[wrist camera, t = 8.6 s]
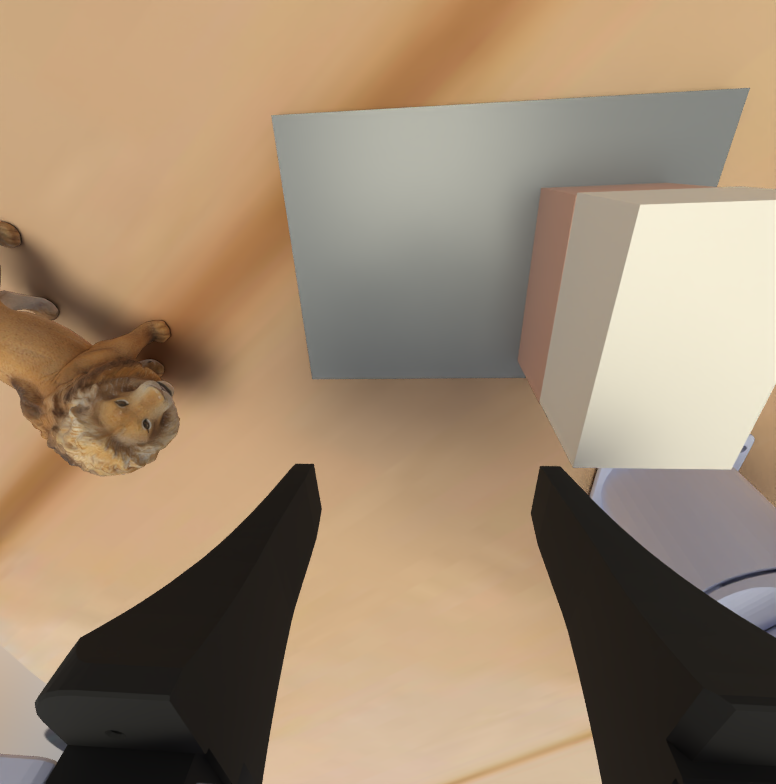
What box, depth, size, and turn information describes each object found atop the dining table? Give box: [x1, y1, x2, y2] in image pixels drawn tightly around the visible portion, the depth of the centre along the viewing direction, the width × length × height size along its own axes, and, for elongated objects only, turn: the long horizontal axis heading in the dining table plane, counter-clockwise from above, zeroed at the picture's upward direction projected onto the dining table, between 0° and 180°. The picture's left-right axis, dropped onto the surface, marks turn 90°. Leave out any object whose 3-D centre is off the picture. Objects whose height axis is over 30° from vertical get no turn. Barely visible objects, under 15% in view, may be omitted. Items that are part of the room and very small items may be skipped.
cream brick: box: [540, 186, 776, 470], centre depth 13 cm, size 8×5×4 cm, turn 2°
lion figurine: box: [0, 221, 180, 476], centre depth 18 cm, size 15×5×9 cm, turn 60°
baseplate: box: [271, 88, 750, 379], centre depth 19 cm, size 12×18×1 cm, turn 92°
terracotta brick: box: [518, 183, 713, 404], centre depth 17 cm, size 8×5×4 cm, turn 2°
